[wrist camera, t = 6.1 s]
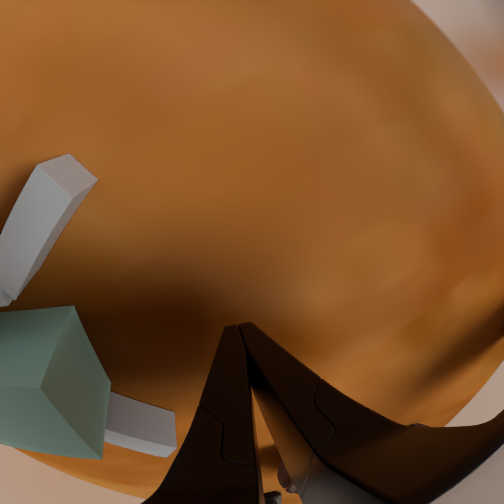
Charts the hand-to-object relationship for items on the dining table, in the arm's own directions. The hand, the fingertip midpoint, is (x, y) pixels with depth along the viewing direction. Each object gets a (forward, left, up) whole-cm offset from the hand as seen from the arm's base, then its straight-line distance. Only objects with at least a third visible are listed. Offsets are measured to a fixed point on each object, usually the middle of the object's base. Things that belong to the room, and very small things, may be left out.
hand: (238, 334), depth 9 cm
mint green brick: (-1, +12, -1) cm, 12 cm away
